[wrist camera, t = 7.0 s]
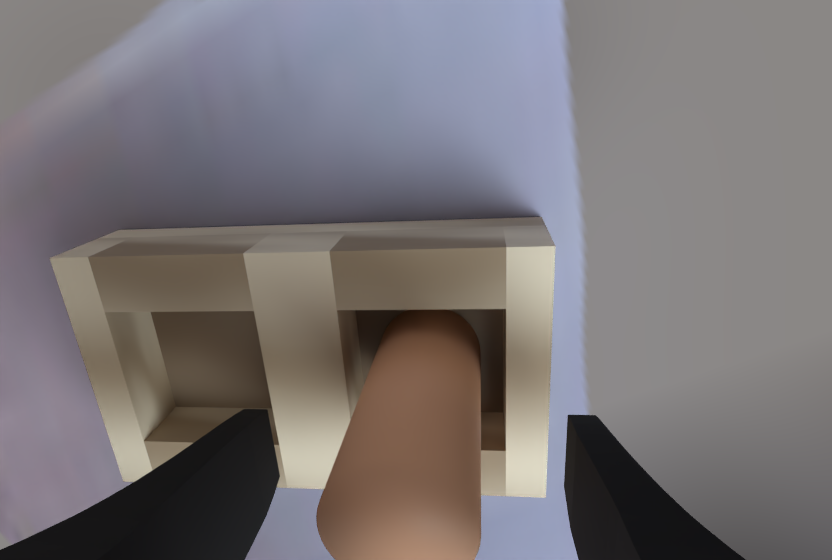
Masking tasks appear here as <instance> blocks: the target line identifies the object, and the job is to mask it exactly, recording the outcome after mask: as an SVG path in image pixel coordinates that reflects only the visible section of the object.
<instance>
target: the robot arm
mask: <svg viewBox="0 0 832 560" xmlns="http://www.w3.org/2000/svg"><path fill="white" fill-rule="evenodd" d="M279 478H280V473H279V468H278V463H277V457H276V452H275V447H274V441H273V436H272V431H271V426H270V420H269V415H268V410H267V409H243V410H241V411H240V412H238V413H236V414H235V415H233V416H232V417H230V418H229V419H227V420H226V421H224V422H223V423H221V424H220V425H218V426H217V427H216V428H214V429H213V430H211V431H210V432H208V433H207V434H206V435H204V436H203V437H201V438H200V439H198V440H197V441H195V442H194V443H193V444H191V445H190V446H188V447H187V448H185V449H184V450H182V451H181V452H180V453H178V454H177V455H175V456H174V457H172V458H171V459H169V460H168V461H166V462H165V463H163V464H161V465H160V466H158V467H157V468H155V469H154V470H152V471H151V472H149V473H147V474H146V475H144V476H143V477H141V478H140V479H138V480H136V481H135V482H133V483H132V484H130V485H129V486H127V487H125V488H123V489H122V490H120V491H118V492H117V493H115V494H113V495H111V496H110V497H108V498H106V499H104V500H103V501H101V502H99V503H97V504H95V505H93V506H91V507H90V508H88V509H86V510H84V511H82V512H80V513H78V514H76V515H75V516H73V517H71V518H68V519H66V520H64V521H62V522H60V523H58V524H56V525H54V526H52V527H50V528H47V529H45V530H43V531H41V532H39V533H37V534H35V535H33V536H31V537H29V538H26V539H24V540H22V541H20V542H18V543H15V544H13V545H11V546H8V547H6V548H4V549H1V550H0V560H245V558H246V556H247V554H248V552H249V550H250V548H251V546H252V544H253V542H254V540H255V538H256V536H257V534H258V532H259V530H260V528H261V526H262V523H263V521H264V519H265V517H266V515H267V512H268V510H269V507H270V504H271V502H272V499H273V496H274V493H275V490H276V487H277V484H278V481H279ZM564 488H565V495H566V502H567V509H568V515H569V522H570V528H571V532H572V536H573V540H574V544H575V548H576V551H577V555H578V559H579V560H745V559H744V558H743V557H741V556H740V555H739V554H737V553H736V552H735V551H733V550H732V549H731V548H730V547H728V546H727V545H726V544H725V543H723V542H722V541H721V540H720V539H718V538H717V537H716V536H715V535H713V534H712V533H711V532H710V531H709V530H707V529H706V528H705V527H703V526H702V525H701V524H700V523H699V522H698V521H697V520H695V519H694V518H693V517H692V516H691V515H690V514H689V513H687V512H686V511H685V510H684V509H683V508H682V507H681V506H680V505H679V504H678V503H677V502H676V501H675V500H674V499H673V498H671V497H670V496H669V495H668V494H667V493H666V492H665V491H664V490H663V489H662V488H661V487H660V486H659V485H658V484H657V483H656V482H655V481H654V480H653V479H652V477H650V475H649V474H648V473H647V472H646V471H645V470H644V469H643V468H642V467H641V466H640V465H639V464H638V463H637V462H636V461H635V460H634V458H633V457H632V456H631V455H630V454H629V453H628V452H627V451H626V450H625V449H624V447H623V446H622V445H621V444H620V443H619V441H617V439H616V438H615V437H614V436H613V435H612V433H611V432H610V431H609V430H608V429H607V427H606V426H605V425H604V424H603V423H602V422H601V420H600V419H599V418H598V417H597V416H595V415H568V423H567V443H566V462H565V481H564Z"/></svg>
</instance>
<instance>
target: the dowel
mask: <svg viewBox="0 0 832 560" xmlns="http://www.w3.org/2000/svg"><path fill="white" fill-rule="evenodd" d="M316 517H317V527H318V532H319V535H320V537H321V540H322V542H323V544H324V546H325V547H326V549H327V550H328V552H329V553H330V554H331V556H332V557H333V558H334V559H335V560H474V559H475V557H476V555H477V553H478V550H479V547H480V541H481V351H480V343H479V340H478V337H477V335H476V333H475V331H474V330H473V328H472V327H471V325H470V324H469V323H468V322H467V321H466V320H465V319H463V318H462V317H461V316H459V315H458V314H456V313H455V312H452V311H450V310H448V309H435V310H407V311H404V312H403V313H401V314H399V315H398V316H397V317H395V318H394V319H393V320H392V321H391V322H390V324H389V325H388V326H387V328H386V330H385V332H384V334H383V337H382V339H381V342H380V344H379V347H378V350H377V352H376V355H375V358H374V360H373V363H372V365H371V368H370V371H369V373H368V376H367V378H366V381H365V384H364V386H363V389H362V392H361V394H360V397H359V399H358V402H357V405H356V407H355V410H354V412H353V415H352V418H351V420H350V423H349V426H348V428H347V431H346V433H345V436H344V439H343V441H342V444H341V446H340V449H339V452H338V454H337V457H336V460H335V462H334V465H333V467H332V470H331V473H330V475H329V478H328V480H327V483H326V486H325V488H324V491H323V494H322V496H321V499H320V502H319V505H318V508H317V516H316Z"/></svg>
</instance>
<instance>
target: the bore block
mask: <svg viewBox="0 0 832 560" xmlns="http://www.w3.org/2000/svg"><path fill="white" fill-rule="evenodd" d="M50 261H51V264H52V267H53V270H54V273H55V276H56V279H57V282H58V285H59V288H60V291H61V294H62V297H63V300H64V303H65V306H66V309H67V312H68V315H69V318H70V321H71V324H72V327H73V330H74V333H75V336H76V339H77V342H78V345H79V348H80V352H81V355H82V358H83V361H84V364H85V367H86V370H87V373H88V376H89V379H90V382H91V385H92V388H93V391H94V394H95V397H96V400H97V403H98V406H99V409H100V412H101V415H102V418H103V421H104V424H105V427H106V430H107V433H108V436H109V439H110V442H111V445H112V448H113V451H114V454H115V457H116V460H117V463H118V466H119V469H120V472H121V475H122V478H123V481H124V482H135V481H136V480H138V479H140V478H141V477H143V476H144V475H146V474H147V473H149V472H151V471H152V470H154V469H155V468H157V467H158V466H160V465H161V464H163V463H165V462H166V461H168V460H169V459H171V458H172V457H174V456H175V455H177V454H178V453H180V452H181V451H182V450H184V449H185V448H187V447H188V446H190V445H191V444H193V443H194V442H195V441H197V440H198V439H200V438H201V437H203V436H204V435H206V434H207V433H208V432H210V431H211V430H213V429H214V428H216V427H217V426H218V425H220V424H221V423H223V422H224V421H226V420H227V419H229V418H230V417H232V416H233V415H235V414H236V413H238V412H240V411H241V410H243V409H267V410H268V415H269V420H270V426H271V431H272V436H273V441H274V447H275V452H276V457H277V463H278V468H279V473H280V478H279V481H278V484H277V487H279V488H306V489H324V488H325V486H326V483H327V480H328V478H329V475H330V473H331V470H332V467H333V465H334V462H335V460H336V457H337V454H338V452H339V449H340V446H341V444H342V441H343V439H344V436H345V433H346V431H347V428H348V426H349V423H350V420H351V418H352V415H353V412H354V410H355V407H356V405H357V402H358V399H359V397H360V394H361V392H362V389H363V386H364V384H365V381H366V378H367V376H368V373H369V371H370V368H371V365H372V363H373V360H374V358H375V355H376V352H377V350H378V347H379V344H380V342H381V339H382V337H383V334H384V332H385V330H386V328H387V326H388V325H389V324H390V322H391V321H392V320H393V319H394V318H395V317H397V316H398V315H399V314H401V313H403V312H404V311H407V310H435V309H448V310H450V311H452V312H455V313H456V314H458V315H459V316H461V317H462V318H463V319H465V320H466V321H467V322H468V323H469V324H470V325H471V327H472V328H473V330H474V331H475V333H476V335H477V337H478V340H479V343H480V351H481V495H488V496H515V497H541V498H546V478H547V452H548V426H549V399H550V373H551V347H552V320H553V294H554V268H555V244H554V242H553V240H552V238H551V236H550V234H549V232H548V230H547V227H546V225H545V223H544V221H543V219H542V217H522V218H490V219H458V220H425V221H393V222H360V223H328V224H295V225H263V226H230V227H198V228H165V229H133V230H117V231H115V232H112V233H110V234H108V235H105V236H103V237H100V238H98V239H95V240H93V241H90V242H88V243H85V244H83V245H80V246H78V247H75V248H73V249H71V250H68V251H66V252H63V253H61V254H58V255H56V256H53V257H51V258H50Z"/></svg>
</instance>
